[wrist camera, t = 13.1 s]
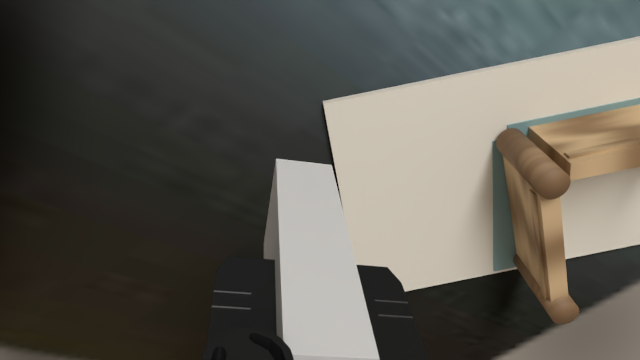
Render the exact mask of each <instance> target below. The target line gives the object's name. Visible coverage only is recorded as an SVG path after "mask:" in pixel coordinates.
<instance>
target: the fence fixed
mask: <svg viewBox="0 0 640 360" xmlns="http://www.w3.org/2000/svg"><path fill="white" fill-rule="evenodd" d="M528 138H529V139H530V140H531V141H532V142H533V143H534V144H535V145H536V146H537V147H538V148H540V149H541V150H542V151H543V152H544V153H545V154H546V155H547V156H548V157H549V158H550V159H552V160H553V161H554V162H555V163H556V164H557V165H558V166H559V167H560V168H561V169H562V170H564V171H565V172H566V173H567V174H568V175H569V177H570V180H571V181H572V180H577V179H582V178H587V177H592V176H597V175H602V174H607V173H612V172H617V171H622V170H627V169H631V168H636V167H640V104H639V105H634V106H629V107H624V108H619V109H614V110H609V111H604V112H599V113H594V114H590V115H585V116H580V117H575V118H570V119H565V120H560V121H555V122H550V123H545V124H540V125H535V126H531V127H529V136H528Z"/></svg>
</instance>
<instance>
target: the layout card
mask: <svg viewBox="0 0 640 360" xmlns="http://www.w3.org/2000/svg"><path fill="white" fill-rule="evenodd" d="M639 104H640V36H639V37H634V38H629V39H624V40H620V41H615V42H610V43H605V44H600V45H595V46H590V47H585V48H580V49H575V50H571V51H566V52H561V53H556V54H551V55H546V56H541V57H536V58H531V59H527V60H522V61H517V62H512V63H507V64H502V65H497V66H492V67H487V68H482V69H478V70H473V71H468V72H463V73H458V74H453V75H448V76H443V77H438V78H434V79H429V80H424V81H419V82H414V83H409V84H404V85H399V86H394V87H389V88H385V89H380V90H375V91H370V92H365V93H360V94H355V95H350V96H345V97H341V98H336V99H331V100H326V101H323V106H324V112H325V117H326V122H327V128H328V133H329V138H330V144H331V149H332V154H333V160H334V165H335V170H336V176H337V181H338V186H339V192H340V197H341V202H342V208H343V213H344V217H345V221H346V225H347V229H348V233H349V237H350V241H351V245H352V249H353V253H354V257H355V261H356V265H368V266H380V267H388V268H389V269H390V271H391V272H392V273H393V274H394V275H395V276H396V277H397V278H398V279H399V281H400V282H401V283H402V285H403V288H404V291H410V290H415V289H420V288H425V287H430V286H435V285H440V284H445V283H450V282H455V281H460V280H465V279H470V278H475V277H480V276H484V275H489V274H494V273H499V272H504V271H509V270H514V269H517V267H516V266H515V264H514V262H513V259H514V256H515V255H516V246H515V239H514V232H513V225H512V218H511V211H510V204H509V197H508V190H507V183H506V176H505V169H504V162H503V154H502V153H501V152H500V151H499V150H498V149H497V147H496V140H497V138H498V136H499V135H500V133H501V132H503V131H504V130H506V129H509V128H516V129H518V130H520V131H521V132H522V133H523V134H524V135H525V136H526V137H527V138H528V136H529V127H531V126H535V125H540V124H545V123H550V122H555V121H560V120H565V119H570V118H575V117H580V116H585V115H590V114H594V113H599V112H604V111H609V110H614V109H619V108H624V107H629V106H634V105H639ZM560 200H561V212H562V224H563V237H564V249H565V259H569V258H574V257H579V256H584V255H589V254H594V253H598V252H603V251H608V250H613V249H618V248H623V247H628V246H633V245H638V244H640V167H636V168H631V169H627V170H622V171H617V172H612V173H607V174H602V175H597V176H592V177H587V178H582V179H577V180H572V181H571V182H570V186H569V188H568V190H567V191H566V192H565V193H564V194H563V195H562V196H560Z"/></svg>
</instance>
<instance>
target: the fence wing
mask: <svg viewBox="0 0 640 360" xmlns="http://www.w3.org/2000/svg"><path fill="white" fill-rule="evenodd" d="M496 147H497V149H498V150H499V151H500V152H501V153H502V154H503V162H504V169H505V176H506V183H507V190H508V197H509V204H510V211H511V218H512V225H513V232H514V239H515V246H516V255H515V256H514V259H513V262H514V264H515V266H516V267H517V269H518V270H519V272H520V273H521V275H522V276H523V278H524V279H525V281H526V282H527V283H528V285H529V286H530V288H531V289H532V291H533V292H534V294H535V295H536V297H537V298H538V300H539V301H540V303H541V304H542V306H543V307H544V309H545V310H546V311H547V313H548V314H549V316H550V317H551V319H552V320H553V322H554V323H556V324H567V323H569V322H571V321H573V320H574V319H575V318H576V317H577V316H578V314H579V308H578V306H577V305H576V304H575V302H574V301H573V300H572V298H571V297H570V296H569V294H568V287H567V274H566V262H565V249H564V237H563V224H562V212H561V200H560V196H562V195H563V194H564V193H565V192H566V191H567V190H568V188H569V186H570V182H571V180H570V177H569V175H568V174H567V173H566V172H565V171H564V170H562V169H561V168H560V167H559V166H558V165H557V164H556V163H555V162H554V161H553V160H552V159H550V158H549V157H548V156H547V155H546V154H545V153H544V152H543V151H542V150H541V149H540V148H538V147H537V146H536V145H535V144H534V143H533V142H532V141H531V140H530V139H529V138H527V137H526V136H525V135H524V134H523V133H522V132H521V131H520V130H518V129H516V128H509V129H506V130H504V131H503V132H501V133H500V135H499V136H498V138H497V140H496Z"/></svg>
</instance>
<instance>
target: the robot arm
mask: <svg viewBox="0 0 640 360" xmlns="http://www.w3.org/2000/svg"><path fill="white" fill-rule="evenodd" d="M202 360H429V359H428V356H427V353H426V351H425V348H424V345H423V342H422V339H421V336H420V334H419V331H418V328H417V325H416V322H415V319H413V314H412V311H411V308H410V305H409V304H408V300H407V297H406V294H405V291H404V288H403V285H402V283H401V282H400V281H399V279H398V278H397V277H396V276H395V275H394V274H393V273H392V272H391V271H390V269H389V268H388V267H380V266H368V265H356V261H355V257H354V253H353V249H352V245H351V241H350V237H349V233H348V229H347V225H346V221H345V217H344V213H343V209H342V204H341V200H340V196H339V192H338V188H337V184H336V180H335V176H334V172H333V168H332V165H327V164H318V163H310V162H301V161H292V160H283V159H276V163H275V170H274V177H273V184H272V191H271V197H270V204H269V211H268V218H267V225H266V232H265V239H264V259H260V258H247V257H234V256H228V257H227V258H226V260H225V261H224V262H223V263H222V265H221V266H220V267H219V268H218V270H217V271H216V279H215V286H214V294H213V301H212V309H211V317H210V324H209V332H208V339H207V347H206V350H205V352H204V355H203V357H202Z"/></svg>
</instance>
